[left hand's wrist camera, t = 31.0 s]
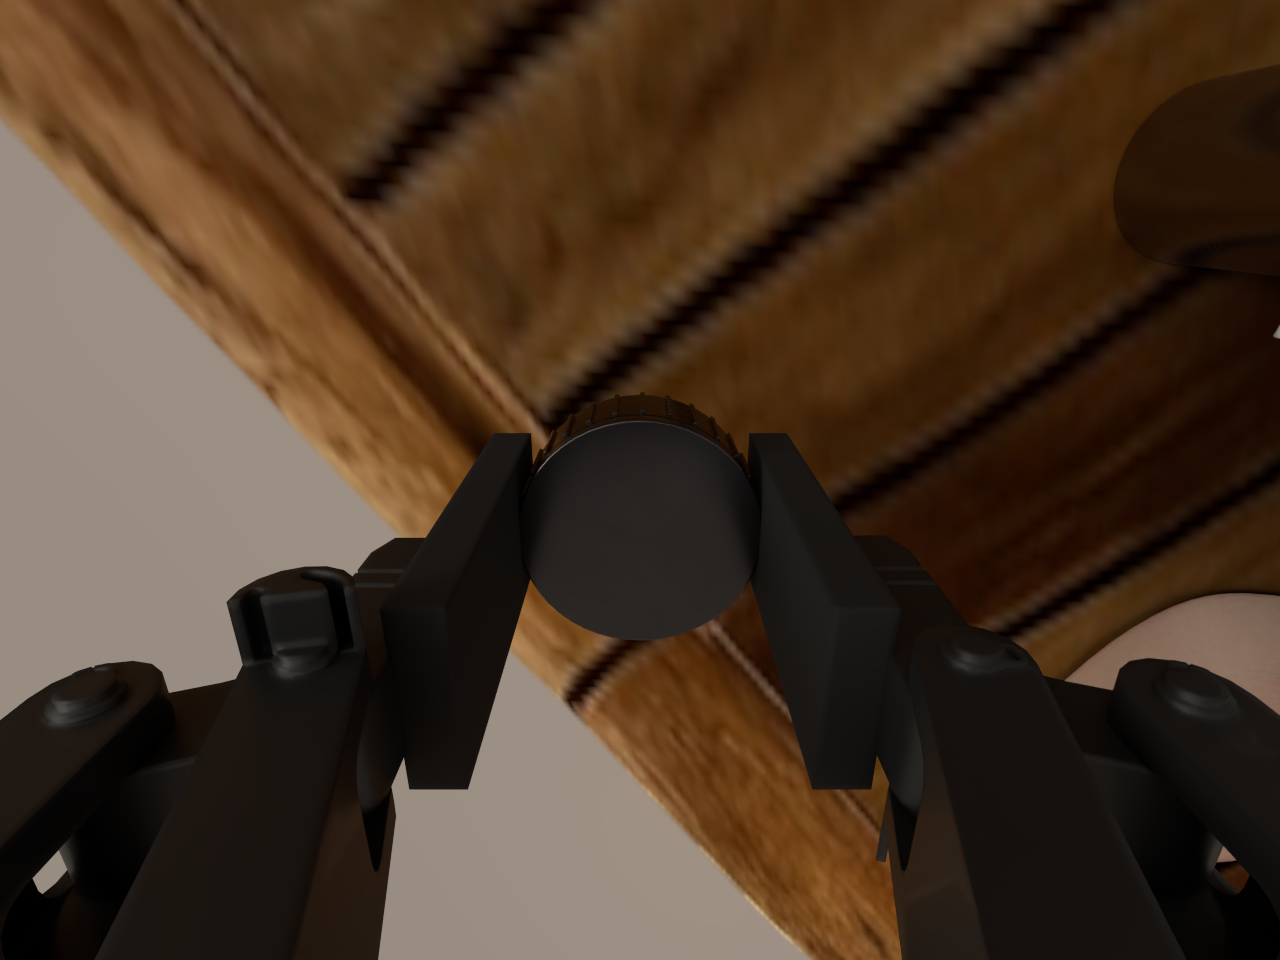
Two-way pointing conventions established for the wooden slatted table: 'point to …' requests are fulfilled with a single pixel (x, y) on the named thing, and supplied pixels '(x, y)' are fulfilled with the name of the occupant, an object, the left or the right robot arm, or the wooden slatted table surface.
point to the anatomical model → (1203, 646)
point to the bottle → (1207, 177)
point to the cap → (640, 519)
